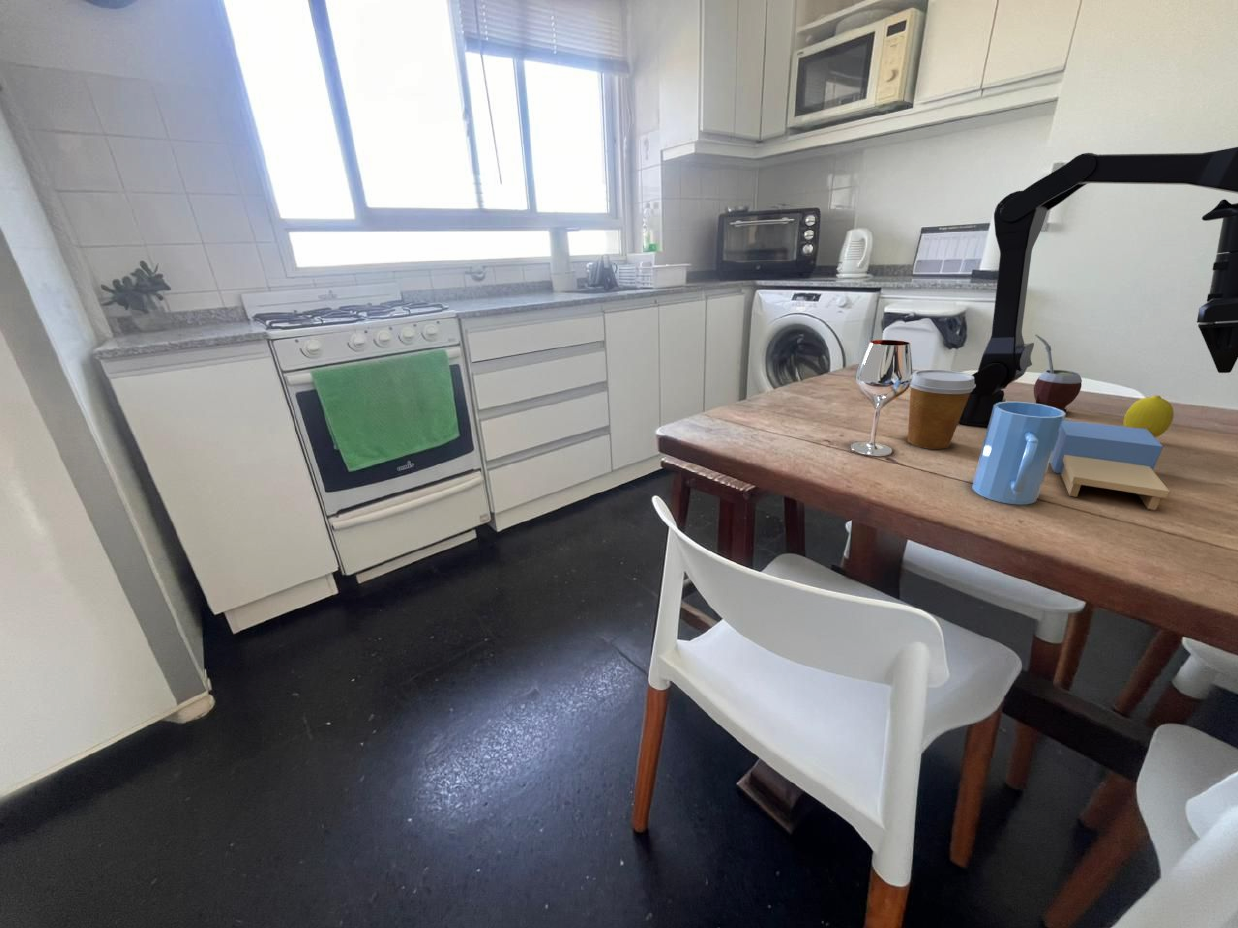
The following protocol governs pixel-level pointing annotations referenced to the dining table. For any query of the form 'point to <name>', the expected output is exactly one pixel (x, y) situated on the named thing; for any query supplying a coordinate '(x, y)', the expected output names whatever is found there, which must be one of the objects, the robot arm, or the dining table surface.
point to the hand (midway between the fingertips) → (1226, 367)
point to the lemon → (1150, 415)
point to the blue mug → (1017, 451)
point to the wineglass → (882, 383)
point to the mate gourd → (1056, 385)
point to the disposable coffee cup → (937, 406)
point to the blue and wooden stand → (1109, 460)
